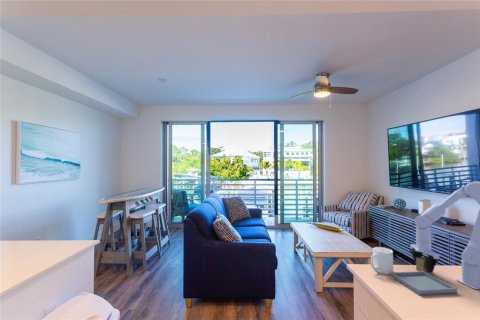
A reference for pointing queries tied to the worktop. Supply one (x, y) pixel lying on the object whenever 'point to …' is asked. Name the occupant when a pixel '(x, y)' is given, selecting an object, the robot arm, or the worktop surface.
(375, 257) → the cup
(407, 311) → the worktop surface
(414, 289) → the tray
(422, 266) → the block
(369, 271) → the worktop surface
